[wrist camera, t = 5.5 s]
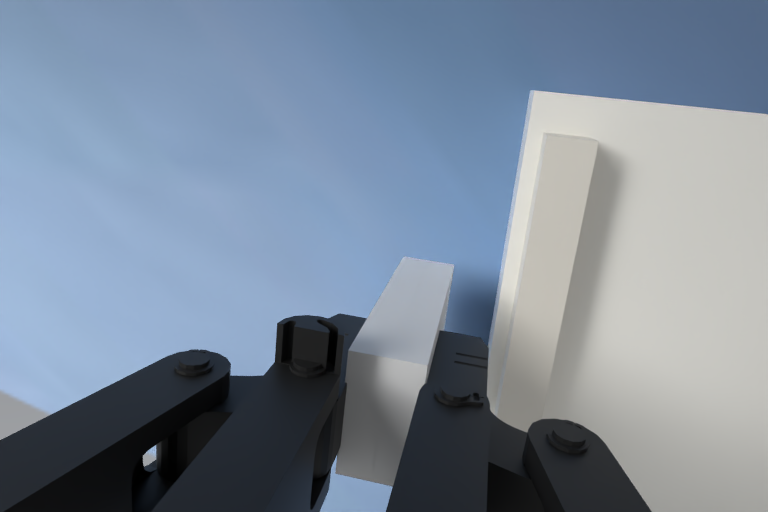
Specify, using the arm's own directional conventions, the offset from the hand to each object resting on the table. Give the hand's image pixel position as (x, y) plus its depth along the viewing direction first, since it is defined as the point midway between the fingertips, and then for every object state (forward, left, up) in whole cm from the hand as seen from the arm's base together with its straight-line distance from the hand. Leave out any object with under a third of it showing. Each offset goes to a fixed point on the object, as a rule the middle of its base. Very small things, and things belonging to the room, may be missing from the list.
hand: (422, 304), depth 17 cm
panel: (+8, 0, -2) cm, 9 cm away
